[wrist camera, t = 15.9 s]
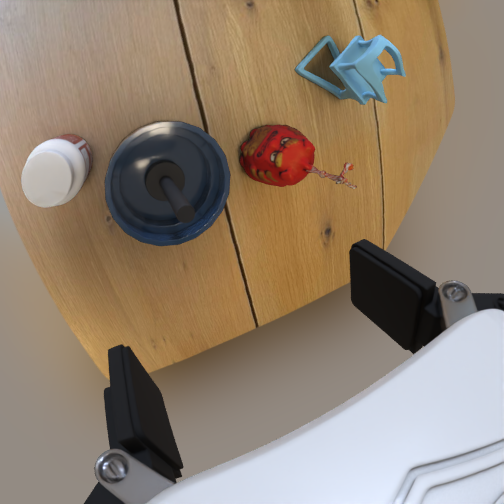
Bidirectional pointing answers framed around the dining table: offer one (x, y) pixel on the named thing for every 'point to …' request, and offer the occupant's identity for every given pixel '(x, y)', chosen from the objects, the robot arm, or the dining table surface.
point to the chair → (356, 68)
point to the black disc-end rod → (169, 188)
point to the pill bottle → (56, 170)
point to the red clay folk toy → (282, 157)
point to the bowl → (195, 190)
